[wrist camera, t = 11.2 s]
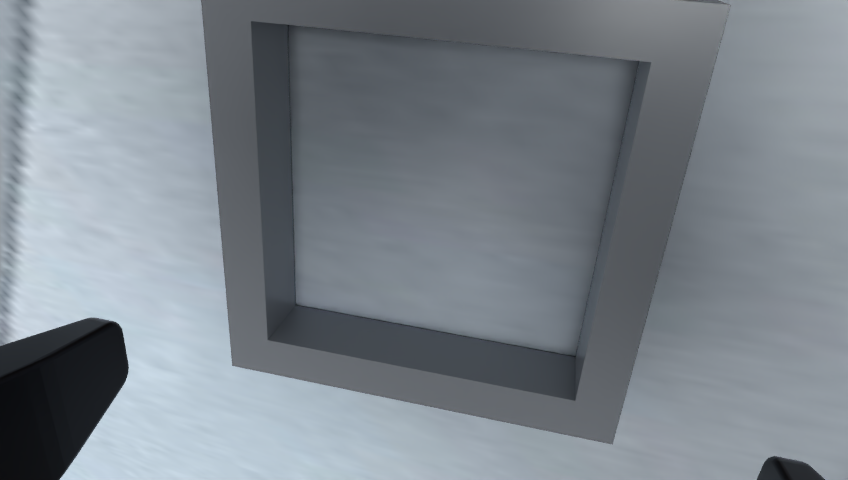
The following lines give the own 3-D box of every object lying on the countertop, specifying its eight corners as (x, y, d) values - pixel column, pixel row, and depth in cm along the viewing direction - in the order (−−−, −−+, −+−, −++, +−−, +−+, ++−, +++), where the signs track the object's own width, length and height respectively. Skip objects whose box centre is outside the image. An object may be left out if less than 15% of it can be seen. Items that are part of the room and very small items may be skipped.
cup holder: (609, 397, 23) (612, 444, 21) (262, 329, 25) (232, 365, 23) (710, -2, 17) (730, 5, 15) (241, -43, 19) (197, -42, 17)
